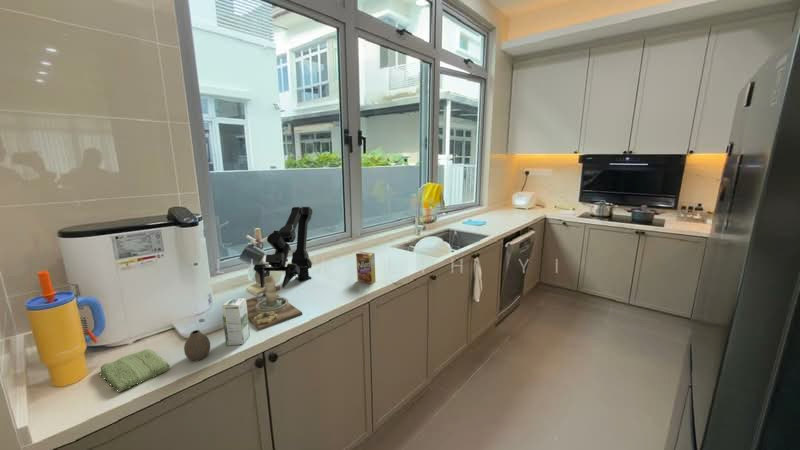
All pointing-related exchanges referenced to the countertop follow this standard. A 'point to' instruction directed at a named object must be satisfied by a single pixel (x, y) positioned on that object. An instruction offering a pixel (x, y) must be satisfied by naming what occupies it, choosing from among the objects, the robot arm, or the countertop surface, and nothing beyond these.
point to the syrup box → (235, 321)
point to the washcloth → (133, 369)
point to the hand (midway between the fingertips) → (272, 287)
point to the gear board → (269, 312)
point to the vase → (197, 346)
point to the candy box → (365, 267)
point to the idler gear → (271, 294)
